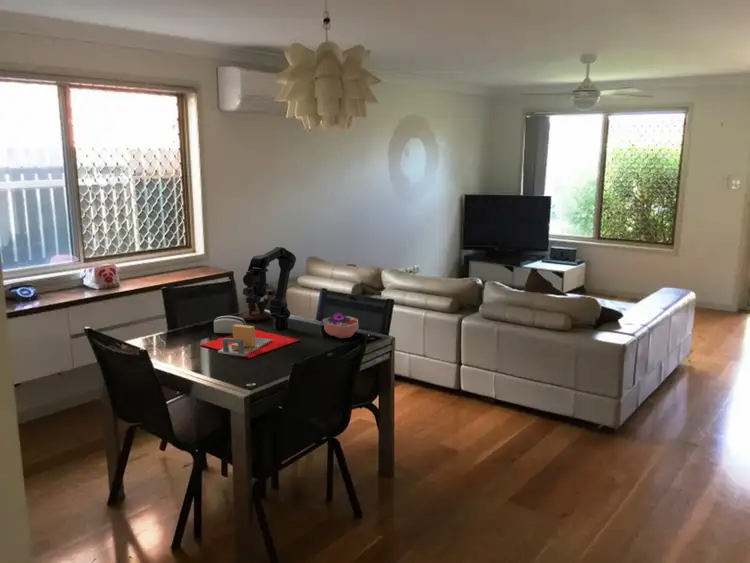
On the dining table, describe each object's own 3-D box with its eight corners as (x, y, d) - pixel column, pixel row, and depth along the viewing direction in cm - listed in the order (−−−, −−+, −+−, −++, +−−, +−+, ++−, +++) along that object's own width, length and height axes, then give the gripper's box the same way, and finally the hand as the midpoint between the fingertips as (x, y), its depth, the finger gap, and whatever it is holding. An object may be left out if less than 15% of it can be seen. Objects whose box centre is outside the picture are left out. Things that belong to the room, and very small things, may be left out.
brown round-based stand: (257, 324, 336) (255, 287, 332) (237, 320, 344) (235, 284, 340) (276, 318, 348) (274, 282, 344) (256, 314, 356) (254, 279, 352)
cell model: (328, 344, 302) (328, 321, 300) (320, 332, 321) (319, 310, 318) (363, 341, 307) (362, 318, 304) (352, 329, 325) (352, 308, 323)
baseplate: (247, 338, 312) (246, 325, 310) (272, 341, 307) (271, 327, 305) (218, 353, 290) (217, 338, 289) (244, 356, 285) (243, 342, 284)
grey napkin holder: (249, 330, 325) (245, 314, 319) (246, 336, 321) (243, 320, 315) (217, 329, 327) (213, 313, 322) (214, 335, 323) (210, 319, 318)
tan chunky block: (237, 342, 300) (236, 324, 298) (255, 345, 297) (254, 326, 295) (226, 348, 292) (224, 329, 290) (244, 350, 289) (243, 331, 287)
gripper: (256, 277, 319) (257, 307, 322) (235, 284, 302) (236, 316, 305) (275, 278, 315) (277, 309, 318) (255, 286, 298) (257, 318, 301)
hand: (261, 313), depth 311 cm, fingers closed
